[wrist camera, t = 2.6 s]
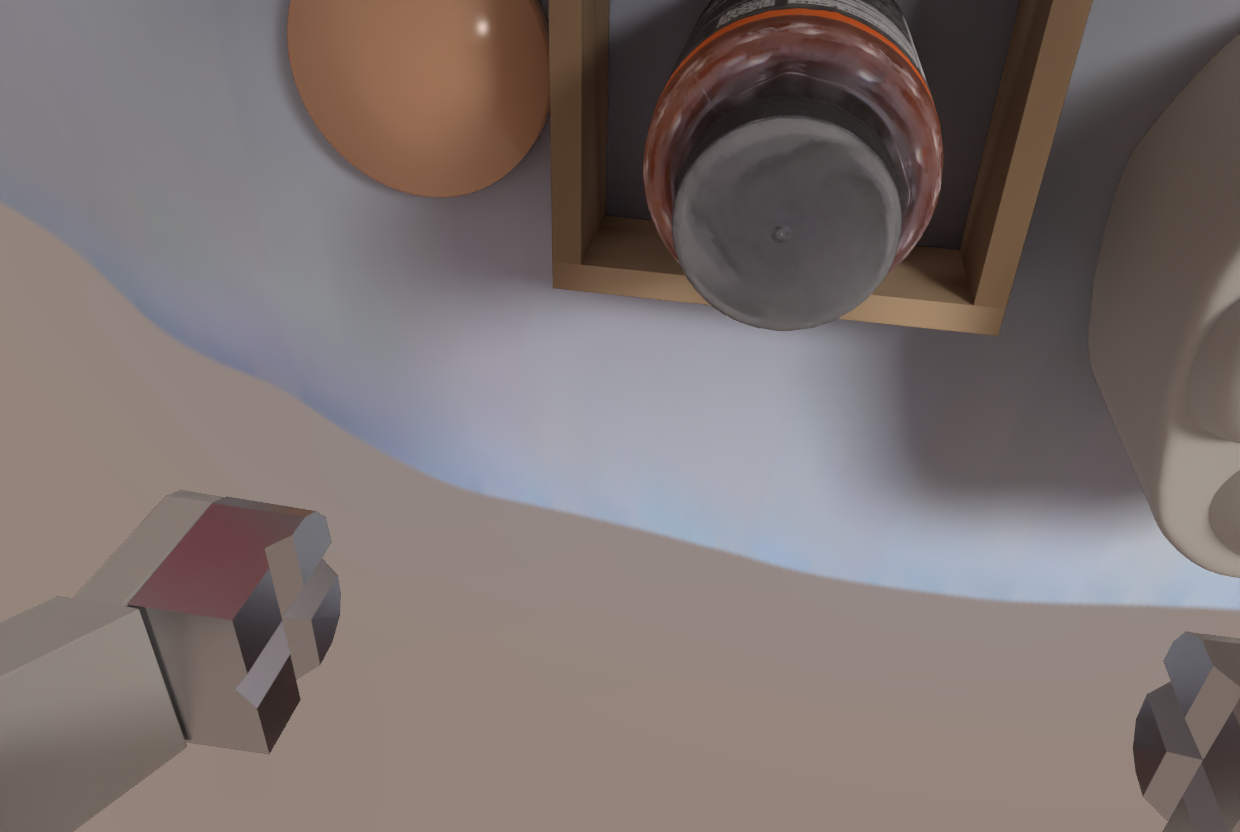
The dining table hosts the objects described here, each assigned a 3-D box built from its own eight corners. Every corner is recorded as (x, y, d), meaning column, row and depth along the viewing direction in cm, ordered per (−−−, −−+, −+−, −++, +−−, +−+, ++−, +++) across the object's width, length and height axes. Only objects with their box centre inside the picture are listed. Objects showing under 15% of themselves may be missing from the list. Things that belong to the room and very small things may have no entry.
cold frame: (1169, -445, 19) (1622, -726, 8) (981, 277, 28) (1076, 611, 17) (581, -446, 21) (294, -683, 10) (579, 237, 30) (429, 518, 19)
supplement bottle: (805, 217, 28) (791, 437, 19) (645, 85, 27) (546, 252, 18) (964, 51, 25) (1040, 219, 16) (790, -108, 24) (762, -26, 15)
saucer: (554, -82, 25) (546, -77, 24) (557, 198, 29) (551, 208, 29) (279, -97, 26) (264, -93, 25) (321, 176, 30) (309, 185, 30)
